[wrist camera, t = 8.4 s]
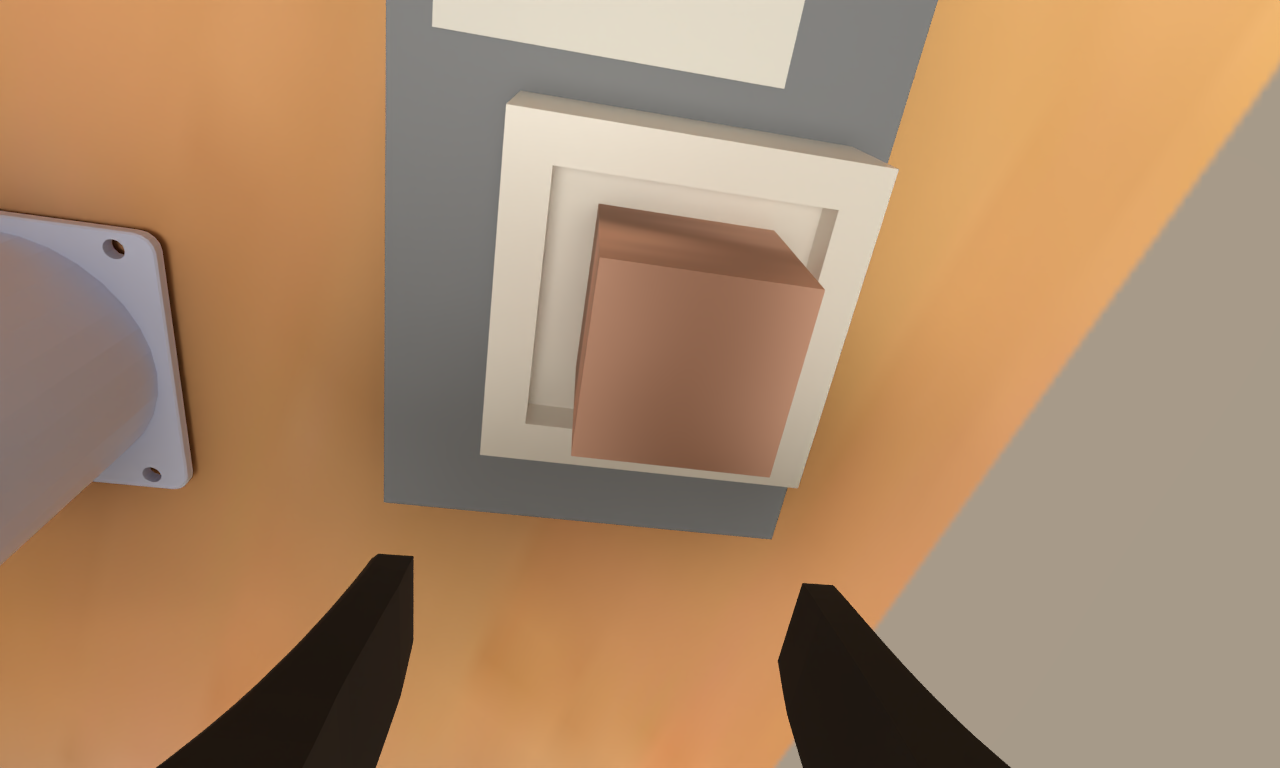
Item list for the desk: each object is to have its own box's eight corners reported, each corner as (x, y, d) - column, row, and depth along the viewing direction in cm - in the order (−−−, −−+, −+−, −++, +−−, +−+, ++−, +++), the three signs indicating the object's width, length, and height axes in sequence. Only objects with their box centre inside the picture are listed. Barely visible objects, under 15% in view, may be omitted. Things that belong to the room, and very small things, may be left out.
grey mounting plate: (396, 473, 23) (383, 504, 21) (406, -252, 15) (386, -282, 13) (761, 510, 24) (771, 541, 23) (950, -130, 16) (984, -145, 15)
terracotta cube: (575, 366, 17) (571, 456, 14) (598, 203, 16) (599, 257, 12) (734, 386, 18) (769, 477, 14) (774, 230, 16) (825, 289, 13)
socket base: (495, 396, 20) (479, 454, 17) (520, 90, 16) (505, 104, 14) (772, 428, 21) (797, 488, 18) (852, 146, 17) (899, 169, 15)
